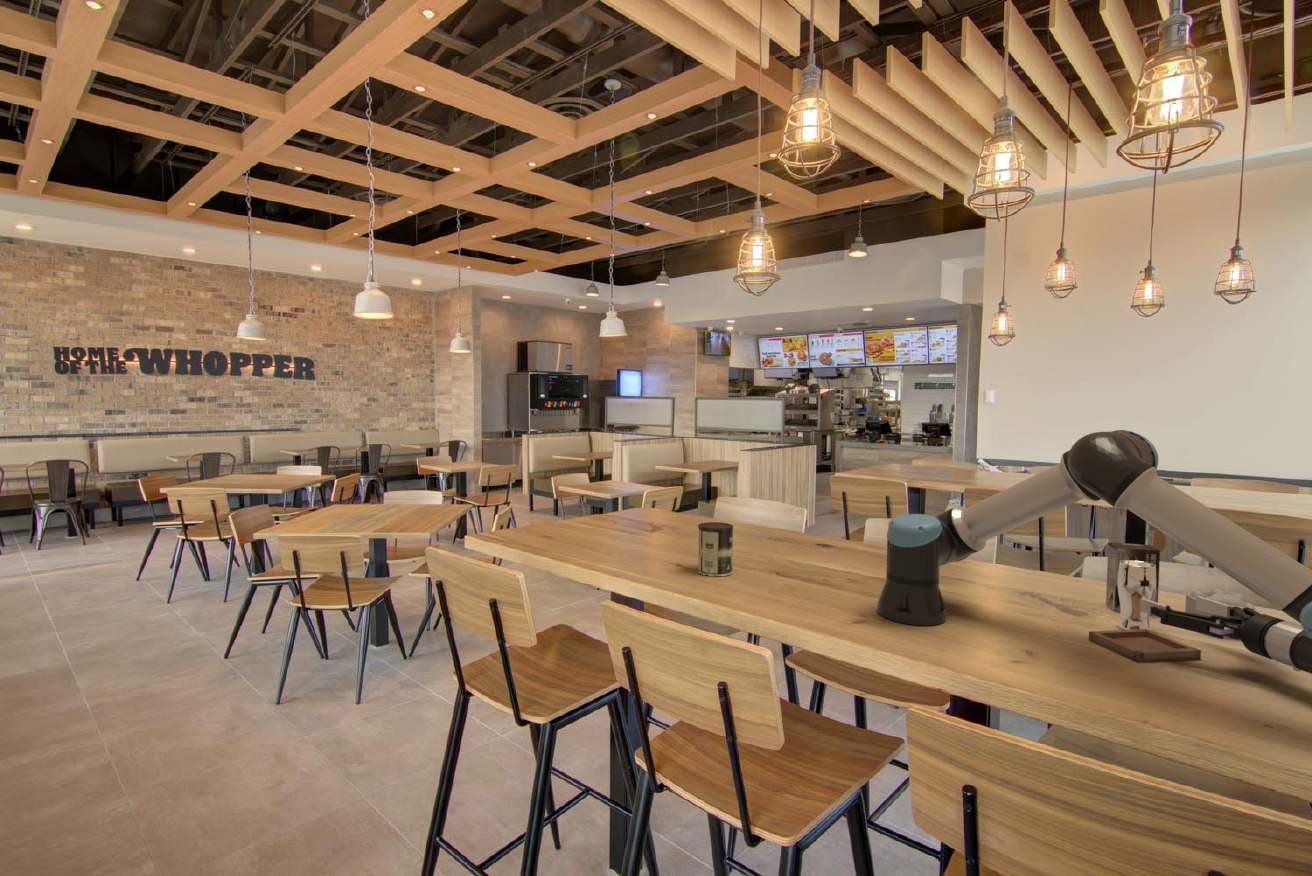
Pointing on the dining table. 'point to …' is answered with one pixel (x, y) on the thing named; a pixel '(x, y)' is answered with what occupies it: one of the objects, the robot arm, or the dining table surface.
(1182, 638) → the dining table surface
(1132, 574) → the beer glass
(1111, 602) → the coffee box
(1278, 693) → the dining table surface
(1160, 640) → the tray
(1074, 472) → the robot arm
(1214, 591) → the lumpy-topped squat cylinder
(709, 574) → the coffee can
